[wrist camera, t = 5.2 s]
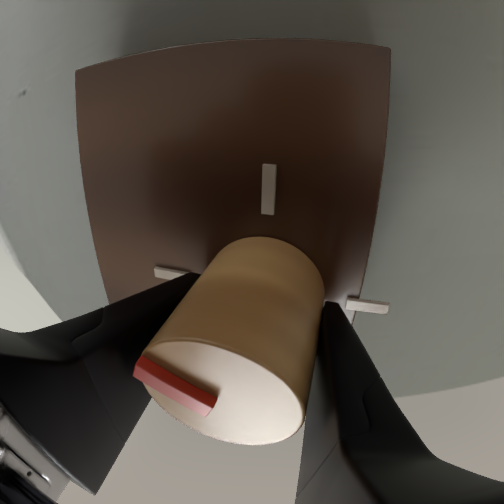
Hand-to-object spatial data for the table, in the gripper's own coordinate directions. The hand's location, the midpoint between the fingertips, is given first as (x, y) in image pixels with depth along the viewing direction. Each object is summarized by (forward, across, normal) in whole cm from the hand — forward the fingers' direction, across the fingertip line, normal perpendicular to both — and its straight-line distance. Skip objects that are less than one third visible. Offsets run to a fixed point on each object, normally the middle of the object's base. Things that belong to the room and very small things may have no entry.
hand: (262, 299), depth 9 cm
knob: (0, 0, 0) cm, 0 cm away
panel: (+3, +2, -2) cm, 4 cm away
